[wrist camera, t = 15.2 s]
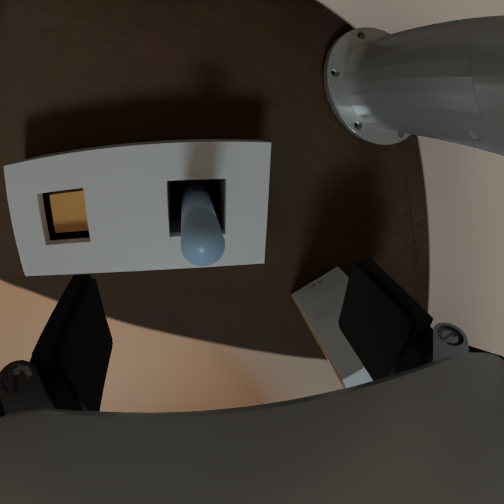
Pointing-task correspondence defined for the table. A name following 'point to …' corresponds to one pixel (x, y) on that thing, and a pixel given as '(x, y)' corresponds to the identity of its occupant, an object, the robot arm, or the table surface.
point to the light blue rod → (200, 227)
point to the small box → (331, 325)
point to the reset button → (69, 210)
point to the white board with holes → (138, 204)
